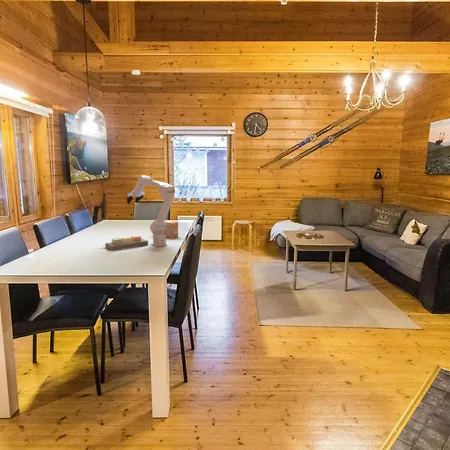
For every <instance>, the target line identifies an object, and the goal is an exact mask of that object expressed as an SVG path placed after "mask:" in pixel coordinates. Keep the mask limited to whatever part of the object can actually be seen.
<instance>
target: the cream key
mask: <svg viewBox="0 0 450 450" xmlns="http://www.w3.org/2000/svg"><path fill="white" fill-rule="evenodd" d="M121 239H122V242H123V243H130V242H132V238H131V236H125V237H124V236H123V237H121Z"/></svg>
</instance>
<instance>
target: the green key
mask: <svg viewBox="0 0 450 450" xmlns="http://www.w3.org/2000/svg"><path fill="white" fill-rule="evenodd" d="M111 242H112V244H115V245H116V244H122V238H120V237H115V238H112V239H111Z"/></svg>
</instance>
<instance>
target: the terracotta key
mask: <svg viewBox="0 0 450 450" xmlns="http://www.w3.org/2000/svg"><path fill="white" fill-rule="evenodd" d="M130 237H131V238H132V241H133V242H137V241H141V239H142V236H140V235H133V236H130Z"/></svg>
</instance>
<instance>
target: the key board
mask: <svg viewBox="0 0 450 450" xmlns="http://www.w3.org/2000/svg"><path fill="white" fill-rule="evenodd" d="M148 245H149V241H148V240H146V239H143V238H141V241H137V242H133V241H132V242H130V243H123V242H122V244H116V245H115V244H112V241H111V242H105V245H104V246H105V248H106V249H109V250H110V251H119V250H124V249H131V248H137V247H138V248H139V247H143V246H144V247H146V246H148Z"/></svg>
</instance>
